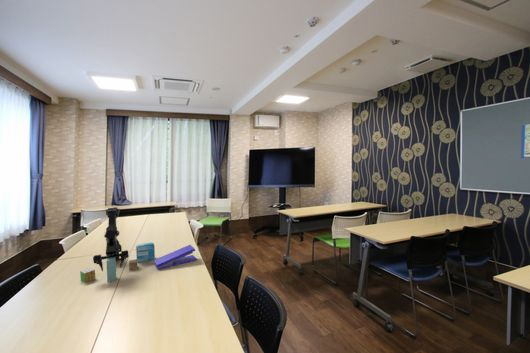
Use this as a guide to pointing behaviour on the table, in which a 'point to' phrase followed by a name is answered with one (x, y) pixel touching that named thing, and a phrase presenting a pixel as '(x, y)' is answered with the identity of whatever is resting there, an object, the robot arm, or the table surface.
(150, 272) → the table surface
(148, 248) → the data package
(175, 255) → the stapler
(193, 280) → the table surface
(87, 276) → the puzzle toy
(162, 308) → the table surface
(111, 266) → the teal block
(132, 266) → the walnut cube
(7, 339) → the table surface
